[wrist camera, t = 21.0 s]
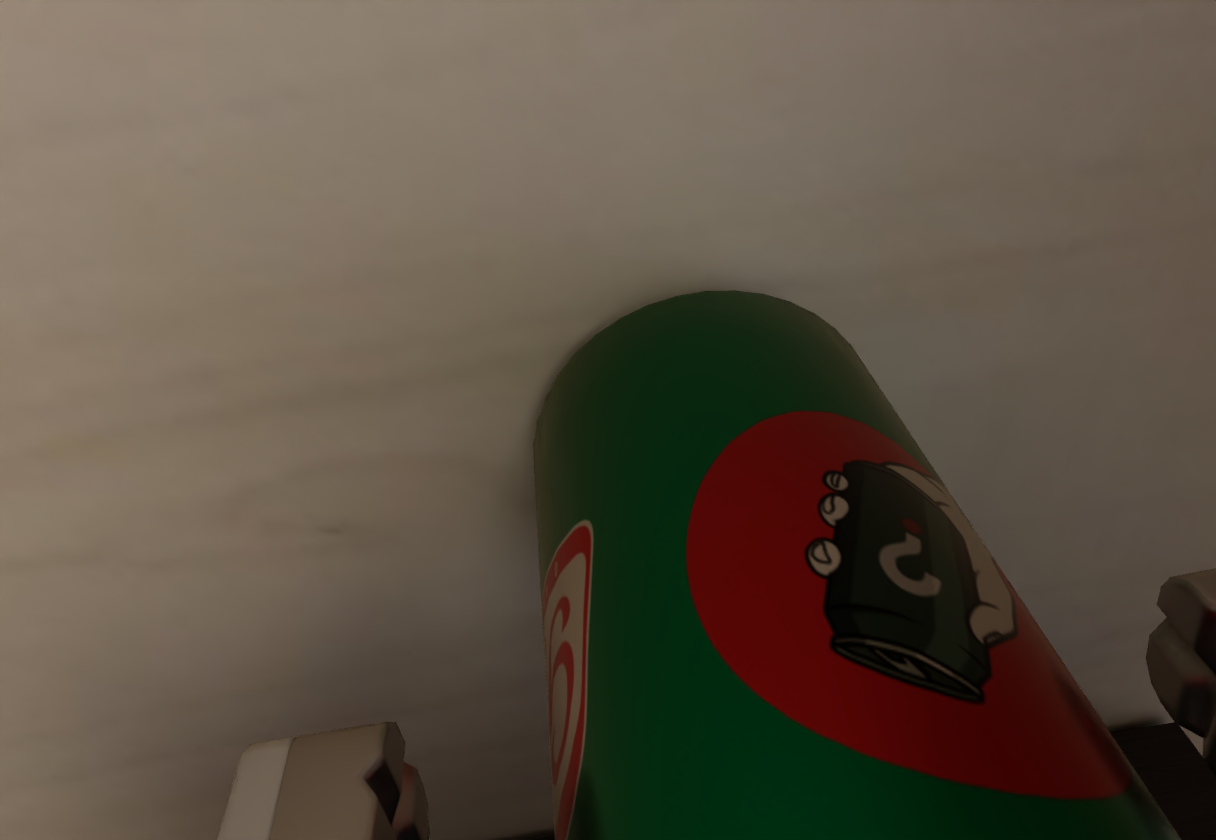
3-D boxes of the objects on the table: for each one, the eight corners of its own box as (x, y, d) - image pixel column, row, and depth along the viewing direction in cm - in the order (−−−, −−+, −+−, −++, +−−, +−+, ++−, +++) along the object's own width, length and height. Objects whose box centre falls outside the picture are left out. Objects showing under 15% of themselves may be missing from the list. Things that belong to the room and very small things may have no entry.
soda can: (474, 353, 13) (401, 2015, 3) (816, 216, 13) (2035, 1739, 3) (605, 592, 16) (787, 1908, 6) (892, 489, 15) (1635, 1756, 5)
